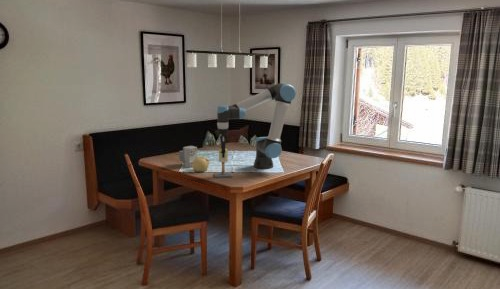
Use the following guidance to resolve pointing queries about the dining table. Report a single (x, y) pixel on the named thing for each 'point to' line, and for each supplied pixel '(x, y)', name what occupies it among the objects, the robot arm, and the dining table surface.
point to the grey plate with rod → (223, 173)
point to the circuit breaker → (188, 156)
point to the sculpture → (200, 164)
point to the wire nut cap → (225, 155)
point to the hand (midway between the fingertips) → (223, 160)
